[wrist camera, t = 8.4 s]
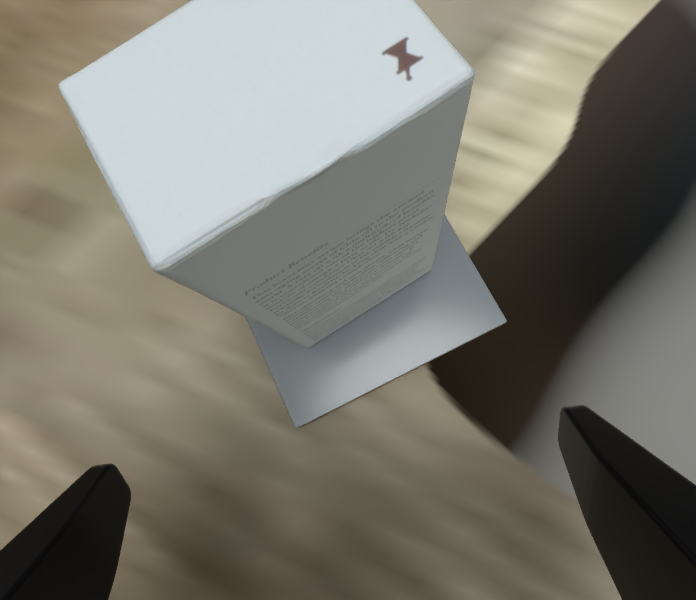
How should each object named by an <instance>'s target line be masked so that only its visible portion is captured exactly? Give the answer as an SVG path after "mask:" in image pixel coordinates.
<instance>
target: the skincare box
mask: <svg viewBox="0 0 696 600" xmlns="http://www.w3.org/2000/svg"><path fill="white" fill-rule="evenodd" d="M473 79H474V70H473V68H472V67H471V66H470V65H469V63H468V62H467V61H466V60H465V59H464V58H463V57H462V56H461V54H460V53H459V52H458V51H457V50H456V49H455V47H454V46H453V45H452V44H451V43H450V42H449V41H448V39H447V38H446V37H445V36H444V35H443V34H442V33H441V31H440V30H439V29H438V28H437V27H436V26H435V25H434V23H433V22H432V21H431V20H430V19H429V18H428V16H427V15H426V14H425V13H424V12H423V11H422V9H421V8H420V7H419V6H418V5H417V4H416V2H415V1H414V0H192V1H190V2H189V3H187V4H185V5H184V6H182V7H180V8H179V9H177V10H176V11H174V12H173V13H171V14H169V15H168V16H166V17H165V18H163V19H162V20H160V21H158V22H157V23H155V24H154V25H152V26H151V27H149V28H147V29H146V30H144V31H143V32H141V33H140V34H138V35H137V36H135V37H133V38H132V39H130V40H129V41H127V42H125V43H124V44H122V45H120V46H119V47H117V48H116V49H114V50H112V51H111V52H109V53H107V54H106V55H104V56H103V57H101V58H99V59H98V60H96V61H95V62H93V63H91V64H90V65H88V66H87V67H85V68H84V69H82V70H81V71H79V72H77V73H75V74H74V75H72V76H70V77H68V78H66V79H64V80H63V81H62V82H61V83H60V84H59V86H58V87H59V90H60V92H61V94H62V96H63V98H64V100H65V102H66V103H67V105H68V107H69V109H70V111H71V113H72V115H73V117H74V119H75V121H76V123H77V125H78V127H79V129H80V131H81V133H82V135H83V137H84V139H85V141H86V143H87V145H88V147H89V149H90V151H91V153H92V155H93V157H94V159H95V161H96V162H97V164H98V166H99V168H100V170H101V172H102V174H103V176H104V178H105V180H106V182H107V184H108V186H109V188H110V190H111V192H112V194H113V196H114V198H115V200H116V202H117V204H118V206H119V208H120V210H121V212H122V213H123V215H124V217H125V219H126V221H127V223H128V225H129V227H130V229H131V231H132V233H133V234H134V236H135V238H136V240H137V242H138V244H139V246H140V248H141V250H142V252H143V254H144V256H145V258H146V259H147V261H148V263H149V265H150V267H151V268H152V270H153V271H155V272H156V273H158V274H160V275H163V276H165V277H167V278H169V279H171V280H173V281H175V282H177V283H179V284H181V285H184V286H186V287H188V288H190V289H191V290H194V291H196V292H198V293H200V294H202V295H204V296H206V297H208V298H209V299H212V300H214V301H216V302H218V303H220V304H221V305H224V306H226V307H228V308H230V309H232V310H234V311H235V312H237V313H239V314H241V315H243V316H245V317H247V318H249V319H251V320H252V321H254V322H256V323H258V324H260V325H262V326H264V327H266V328H268V329H270V330H272V331H273V332H275V333H277V334H279V335H281V336H283V337H285V338H287V339H289V340H291V341H293V342H295V343H296V344H298V345H300V346H302V347H305V348H309V347H311V346H312V345H314V344H315V343H317V342H318V341H320V340H322V339H323V338H325V337H326V336H328V335H330V334H331V333H333V332H334V331H336V330H337V329H339V328H341V327H342V326H344V325H345V324H347V323H349V322H350V321H352V320H353V319H355V318H356V317H358V316H360V315H361V314H363V313H365V312H366V311H368V310H369V309H371V308H372V307H374V306H375V305H377V304H379V303H380V302H382V301H383V300H385V299H387V298H388V297H390V296H391V295H393V294H394V293H396V292H397V291H399V290H401V289H402V288H404V287H405V286H407V285H409V284H410V283H412V282H413V281H415V280H416V279H418V278H419V277H421V276H423V275H424V274H426V273H428V272H429V271H431V270H432V267H433V262H434V259H435V254H436V249H437V244H438V239H439V235H440V230H441V225H442V221H443V217H444V213H445V208H446V203H447V198H448V194H449V189H450V184H451V180H452V175H453V170H454V167H455V161H456V156H457V152H458V148H459V143H460V139H461V134H462V130H463V125H464V120H465V116H466V112H467V108H468V103H469V99H470V93H471V88H472V84H473Z"/></svg>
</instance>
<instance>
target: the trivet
mask: <svg viewBox="0 0 696 600" xmlns="http://www.w3.org/2000/svg"><path fill="white" fill-rule="evenodd" d="M246 319H247V321H248V323H249V326H250V328H251V330H252V332H253V335H254V337H255V339H256V341H257V343H258V346H259V348H260V350H261V352H262V355H263V357H264V359H265V361H266V364H267V366H268V368H269V370H270V372H271V375H272V377H273V379H274V381H275V384H276V386H277V388H278V390H279V392H280V395H281V397H282V399H283V401H284V404H285V406H286V408H287V410H288V413H289V415H290V417H291V419H292V421H293V424H294V426H295V428H299V427H301V426H303V425H305V424H307V423H309V422H311V421H313V420H315V419H317V418H319V417H321V416H323V415H325V414H327V413H329V412H331V411H333V410H335V409H337V408H339V407H341V406H343V405H344V404H346V403H348V402H350V401H352V400H354V399H356V398H358V397H360V396H362V395H364V394H366V393H368V392H370V391H372V390H374V389H376V388H378V387H380V386H382V385H384V384H386V383H388V382H390V381H392V380H394V379H396V378H398V377H400V376H402V375H404V374H406V373H408V372H410V371H412V370H414V369H415V368H417V367H419V366H421V365H423V364H425V363H427V362H429V361H431V360H433V359H435V358H437V357H439V356H441V355H443V354H445V353H447V352H449V351H451V350H453V349H455V348H457V347H459V346H461V345H463V344H465V343H467V342H469V341H471V340H473V339H474V338H477V337H479V336H481V335H482V334H484V333H487V332H488V331H490V330H492V329H494V328H496V327H498V326H500V325H502V324H504V323H505V322H507V321H506V319H505V317H504V316H503V314H502V312H501V310H500V309H499V307H498V305H497V304H496V302H495V300H494V298H493V297H492V295H491V293H490V292H489V290H488V288H487V286H486V285H485V283H484V281H483V280H482V278H481V276H480V274H479V273H478V271H477V269H476V268H475V266H474V264H473V262H472V261H471V259H470V257H469V256H468V254H467V252H466V250H465V249H464V247H463V245H462V244H461V242H460V240H459V238H458V237H457V235H456V233H455V232H454V230H453V228H452V226H451V225H450V223H449V221H448V220H447V218H446V216H445V215H444V217H443V221H442V225H441V230H440V235H439V239H438V244H437V249H436V254H435V259H434V262H433V267H432V270H431V271H429V272H428V273H426V274H424V275H423V276H421V277H419V278H418V279H416V280H415V281H413V282H412V283H410V284H409V285H407V286H405V287H404V288H402V289H401V290H399V291H397V292H396V293H394V294H393V295H391V296H390V297H388V298H387V299H385V300H383V301H382V302H380V303H379V304H377V305H375V306H374V307H372V308H371V309H369V310H368V311H366V312H365V313H363V314H361V315H360V316H358V317H356V318H355V319H353V320H352V321H350V322H349V323H347V324H345V325H344V326H342V327H341V328H339V329H337V330H336V331H334V332H333V333H331V334H330V335H328V336H326V337H325V338H323V339H322V340H320V341H318V342H317V343H315V344H314V345H312V346H311V347H309V348H305V347H302V346H300V345H298V344H296V343H295V342H293V341H291V340H289V339H287V338H285V337H283V336H281V335H279V334H277V333H275V332H273V331H272V330H270V329H268V328H266V327H264V326H262V325H260V324H258V323H256V322H254V321H252V320H251V319H249V318H247V317H246Z"/></svg>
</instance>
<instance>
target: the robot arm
mask: <svg viewBox="0 0 696 600" xmlns="http://www.w3.org/2000/svg"><path fill="white" fill-rule="evenodd" d="M558 441H559V447H560V450H561V453H562V456H563V459H564V462H565V464H566V467H567V470H568V473H569V476H570V479H571V481H572V484H573V487H574V490H575V493H576V496H577V499H578V502H579V504H580V507H581V510H582V513H583V516H584V518H585V521H586V524H587V526H588V528H589V530H590V533H591V535H592V537H593V539H594V541H595V543H596V546H597V548H598V550H599V552H600V554H601V556H602V558H603V560H604V562H605V564H606V566H607V569H608V571H609V573H610V575H611V577H612V579H613V581H614V583H615V585H616V587H617V590H618V592H619V594H620V596H621V598H622V600H696V485H695V484H693V483H692V482H691V481H689V480H688V479H686V478H685V477H684V476H682V475H681V474H680V473H678V472H677V471H675V470H674V469H673V468H671V467H670V466H668V465H667V464H665V463H664V462H663V461H662V460H660V459H659V458H657V457H656V456H654V455H653V454H652V453H650V452H649V451H648V450H646V449H645V448H644V447H642V446H641V445H639V444H638V443H637V442H635V441H634V440H633V439H631V438H630V437H628V436H627V435H625V434H624V433H623V432H621V431H620V430H619V429H617V428H616V427H615V426H613V425H612V424H610V423H609V422H607V421H606V420H605V419H603V418H602V417H601V416H599V415H598V414H597V413H595V412H594V411H592V410H591V409H590V408H588V407H587V406H584V405H575V406H568V407H563V408H562V409H561V412H560V420H559V430H558ZM130 501H131V491H130V488H129V486H128V484H127V483H126V481H125V480H124V478H123V476H122V475H121V473H120V472H119V470H118V468H117V467H116V466H115V465H113V464H103V465H95V466H93V467H91V468H90V469H88V470H87V471H86V472H85V473H84V474H83V475H82V476H81V477H80V478H79V479H77V480H76V481H75V482H74V483H73V484H72V485H71V486H70V487H69V488H68V489H67V490H66V491H64V492H63V493H62V494H61V495H60V496H59V497H58V498H57V499H56V500H55V501H54V502H53V503H51V504H50V505H49V506H48V507H47V508H46V509H45V510H44V511H43V512H42V513H41V514H40V515H38V516H37V517H36V518H35V519H34V520H33V521H32V522H31V523H30V524H29V525H28V526H27V527H25V528H24V529H23V530H22V531H21V532H20V533H19V534H18V535H17V536H16V537H15V538H14V539H12V540H11V541H10V542H9V543H8V544H7V545H6V546H5V547H4V548H3V549H2V550H1V551H0V600H108V598H109V595H110V592H111V588H112V585H113V581H114V578H115V574H116V570H117V566H118V561H119V556H120V551H121V546H122V541H123V536H124V531H125V526H126V521H127V516H128V511H129V506H130Z"/></svg>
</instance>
